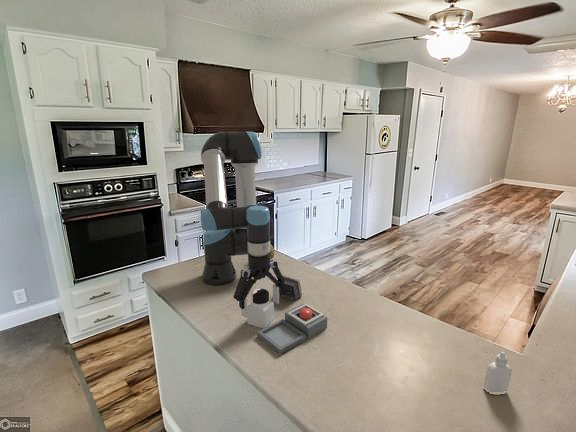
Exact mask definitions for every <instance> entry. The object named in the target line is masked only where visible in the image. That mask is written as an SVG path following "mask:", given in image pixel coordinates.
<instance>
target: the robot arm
mask: <svg viewBox="0 0 576 432" xmlns="http://www.w3.org/2000/svg"><path fill="white" fill-rule="evenodd" d="M200 151H201V153H200V159H201V162H202V164H203V168H204V169H203V170H204V187H205V190H204V191H205V192H204V193H205V206H206V207H205V209H204V208H203V209H201V210H200V223H201V224H200V225H201V228H202V230H203V231H205V232H204V233H203V241H202V243H203V249H204V266H203V271H202V274H201V275H202V277H201V278H202V279H201V280H202V282H203V283H204V284H207V285H210V286H222V285H227V284H230V283H231V282H234V281H235V280H236V278H237V271H236V268H235V266H234V264H233V261H232V257H234V256H235V257H236V256H246V255H247V260H248V269H247V270H246V269H245V270H244V269H241V270H240V276H239V280H238V281H237V286H236V288H235V291H234V294H233V299H235V300H236V301H237V302H238V303H239V304H238V305H239V306H238V308H240V310H241V313H240V314H241V316H243V317H244V318H246V319H247V317H248V308H247V306H248V299H247V297H248V295H249V293H250V291H251V289H252V287H253V286H254V284H256V283H257V281H260V280H261V279H265V278H266V277H267V278H268V279H269V280H270V281H271V282H272V283H273V284H272V301H273V302H274V304H277V305H279V304H280V287H282V283H284V282H285V280H284V278H283V276H282V274H283V273H282V272H281V270H280V268H279V266H278V261H276V260H273V259H271V257H270V244H271V221H270V220H271V216H270V209H269V207H268V206H265V205H257V194H256V192H257V191H256V166H257V165H258V164H259V160H260V159H262V147H261V141H260V138H259V135H258V133H256V132H254V131H246V130H245V131H219V132H218V131H217V132H216V133H213V134H212V135H211V136H209V138H207V140H206V141H205V143H204V144H203V146H202V148H201V150H200ZM226 161H230V165H232V166H233V168H234V174H235V176H234V177H235V192H236V194H235V196H236V197H235V198H236V207H228V197H227V186H226V185H227V184H226V176H225V167H224V163H225V162H226ZM270 269H271V270H272V271H273V274H274V275H275V276H276V277H275V276H274V275H273V274H272V273H271V272H270Z"/></svg>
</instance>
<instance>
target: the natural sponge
mask: <svg viewBox="0 0 576 432" xmlns="http://www.w3.org/2000/svg"><path fill="white" fill-rule="evenodd" d="M275 252H276V251H275V248H274V246H273V245H272V244H271V243H270V257H271V260H273V258H274V257H275Z"/></svg>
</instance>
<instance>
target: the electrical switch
mask: <svg viewBox="0 0 576 432" xmlns="http://www.w3.org/2000/svg"><path fill="white" fill-rule="evenodd" d="M281 274H282V276H283V278H284V280H285V282H284V283H282V287H280V293H279V296H282V297H284V298H287V299H291V300H294V301H297V300H298V299H299V298H300V299H301V298H302V297H303V293H302V285H301V282H300V281H301V280H300V279H298V278H296V277H293V276H290V275H289V276H288V275H286V274H283V273H281Z"/></svg>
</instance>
